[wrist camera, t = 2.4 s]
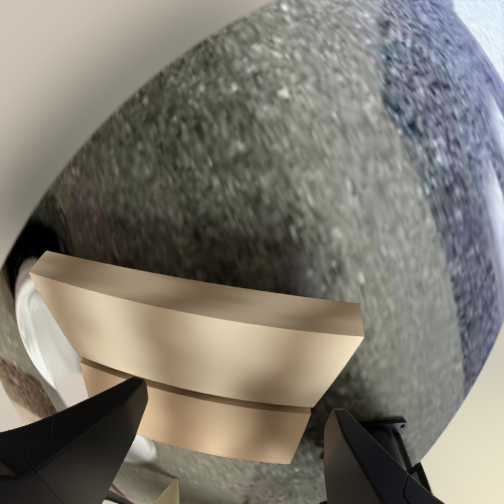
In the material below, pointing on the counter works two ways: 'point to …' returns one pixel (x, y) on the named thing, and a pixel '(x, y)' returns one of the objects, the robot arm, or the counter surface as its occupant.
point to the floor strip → (210, 419)
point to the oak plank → (200, 331)
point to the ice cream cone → (169, 494)
